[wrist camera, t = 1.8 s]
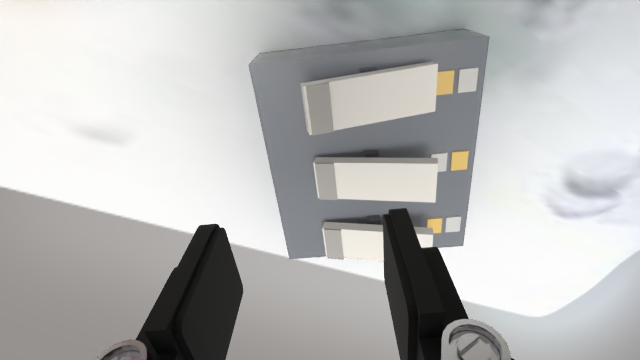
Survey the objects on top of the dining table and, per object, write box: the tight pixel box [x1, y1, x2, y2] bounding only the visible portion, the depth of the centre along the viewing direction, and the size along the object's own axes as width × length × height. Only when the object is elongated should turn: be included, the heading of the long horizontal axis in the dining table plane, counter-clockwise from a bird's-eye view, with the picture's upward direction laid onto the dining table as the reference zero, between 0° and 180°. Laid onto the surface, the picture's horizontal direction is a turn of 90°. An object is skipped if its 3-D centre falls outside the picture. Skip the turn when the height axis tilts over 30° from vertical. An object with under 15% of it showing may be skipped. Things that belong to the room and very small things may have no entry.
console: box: [249, 29, 489, 259], centre depth 32 cm, size 18×20×6 cm
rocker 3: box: [322, 222, 433, 262], centre depth 32 cm, size 10×4×1 cm, turn 96°
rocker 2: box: [313, 157, 438, 203], centre depth 29 cm, size 10×4×1 cm, turn 97°
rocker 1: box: [301, 61, 438, 136], centre depth 25 cm, size 10×4×1 cm, turn 96°
